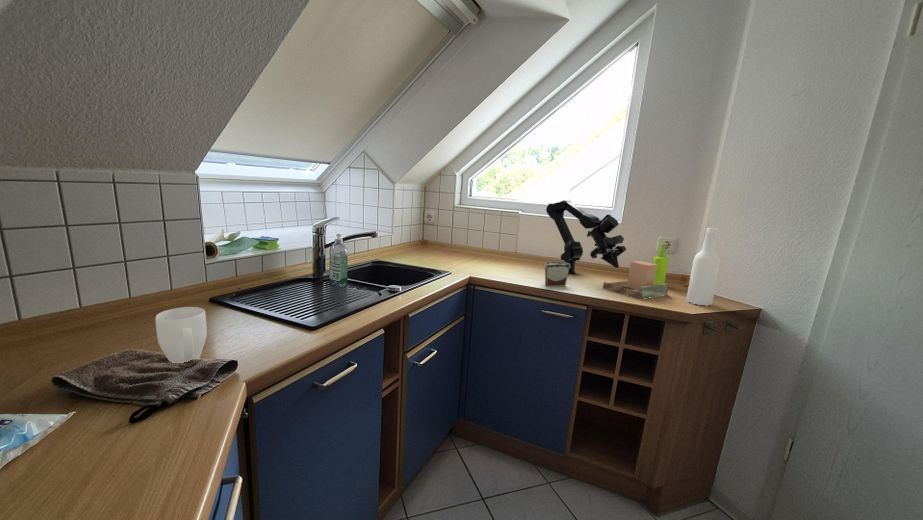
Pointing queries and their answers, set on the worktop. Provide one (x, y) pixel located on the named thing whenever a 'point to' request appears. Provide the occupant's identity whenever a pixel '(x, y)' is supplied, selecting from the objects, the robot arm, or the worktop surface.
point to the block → (641, 274)
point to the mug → (181, 333)
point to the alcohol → (704, 271)
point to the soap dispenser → (661, 265)
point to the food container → (556, 273)
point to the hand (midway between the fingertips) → (617, 267)
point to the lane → (640, 294)
